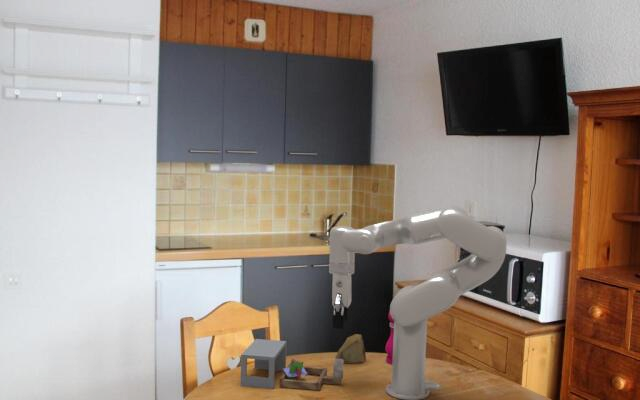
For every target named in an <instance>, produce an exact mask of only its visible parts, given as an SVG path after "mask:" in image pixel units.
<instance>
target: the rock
mask: <svg viewBox="0 0 640 400" xmlns="http://www.w3.org/2000/svg"><path fill="white" fill-rule="evenodd" d="M345 339H346V340H345V341H344V343H343V344H342V345H341V347H340V348H339V349H338V351H337V353H336V355H335V358H334V359H343V360H344V364H355V363H365V362H366V360H367V359H366V358H367V357H366V355H367V354H366V348H365V343H364V338H363V335H362V334H358V333H355V334H352V335H350V336H348V337H346V338H345Z"/></svg>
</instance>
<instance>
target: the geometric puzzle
mask: <svg viewBox="0 0 640 400" xmlns="http://www.w3.org/2000/svg"><path fill="white" fill-rule="evenodd" d="M288 365H290V368H287V367H286V368H285V367H284V368H283V370H284V371H283V373H284V372H285V373H286V375H287V376H288V379H287V380H299V381H301V379H304V376H309V374H307V372H306V371H305V369H304V368H303V366H304V361H299V360H296V359H292V358H291V361H290V362H289V364H288ZM306 367H307V366H305V368H306ZM301 376H303V377H302V378H301Z"/></svg>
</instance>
